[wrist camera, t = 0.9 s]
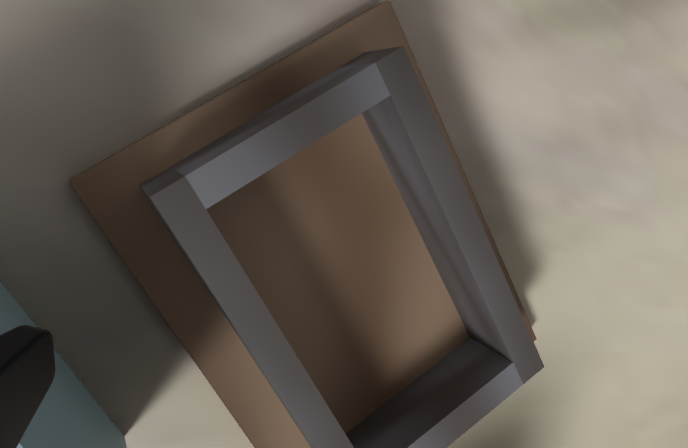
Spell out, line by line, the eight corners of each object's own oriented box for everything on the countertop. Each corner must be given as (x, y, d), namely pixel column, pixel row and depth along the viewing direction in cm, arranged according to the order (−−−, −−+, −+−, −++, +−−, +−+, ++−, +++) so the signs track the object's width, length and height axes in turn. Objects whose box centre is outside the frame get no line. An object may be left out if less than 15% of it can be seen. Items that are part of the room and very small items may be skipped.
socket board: (301, 512, 23) (335, 570, 20) (69, 180, 18) (70, 194, 15) (526, 333, 25) (583, 362, 23) (380, 3, 20) (431, -13, 18)
